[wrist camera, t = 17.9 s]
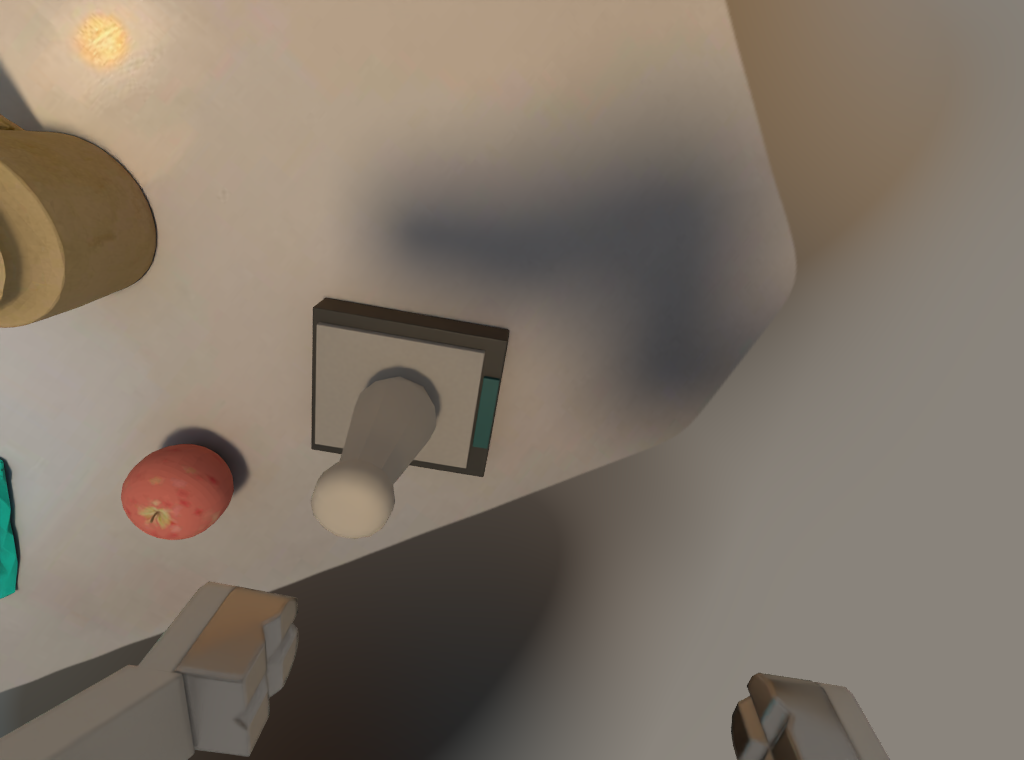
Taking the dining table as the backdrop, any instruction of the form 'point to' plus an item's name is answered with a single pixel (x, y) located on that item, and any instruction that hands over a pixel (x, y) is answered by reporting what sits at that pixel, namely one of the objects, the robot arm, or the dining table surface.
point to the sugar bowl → (65, 225)
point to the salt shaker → (374, 457)
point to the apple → (177, 491)
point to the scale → (408, 376)
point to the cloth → (6, 541)
